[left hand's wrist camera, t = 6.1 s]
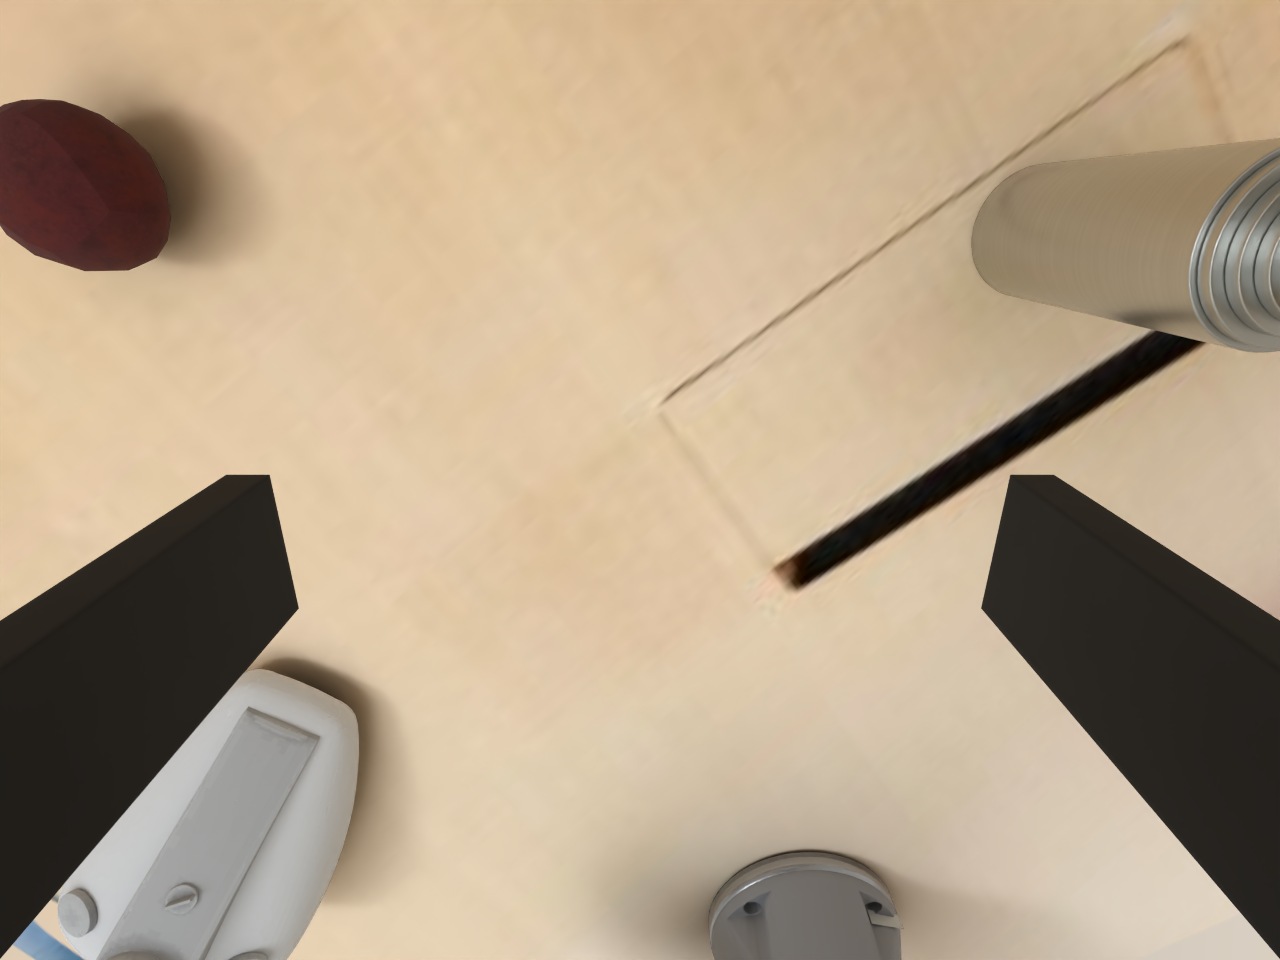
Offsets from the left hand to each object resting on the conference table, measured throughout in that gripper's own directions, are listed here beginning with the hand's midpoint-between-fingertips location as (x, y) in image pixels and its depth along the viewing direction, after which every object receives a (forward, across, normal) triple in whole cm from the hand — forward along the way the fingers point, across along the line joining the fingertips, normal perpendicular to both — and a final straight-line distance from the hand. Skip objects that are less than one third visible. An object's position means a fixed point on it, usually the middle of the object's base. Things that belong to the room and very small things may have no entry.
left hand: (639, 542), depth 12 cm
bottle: (+28, -21, -4) cm, 35 cm away
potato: (+28, +27, -6) cm, 39 cm away
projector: (+28, +29, +34) cm, 53 cm away
